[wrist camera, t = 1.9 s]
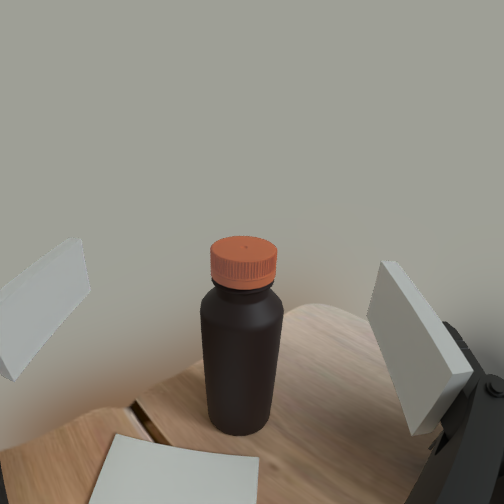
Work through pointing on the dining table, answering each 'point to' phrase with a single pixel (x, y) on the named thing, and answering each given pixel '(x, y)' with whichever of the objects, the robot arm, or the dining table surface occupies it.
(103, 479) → the mat
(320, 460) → the dining table surface
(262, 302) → the vinegar
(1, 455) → the dining table surface
